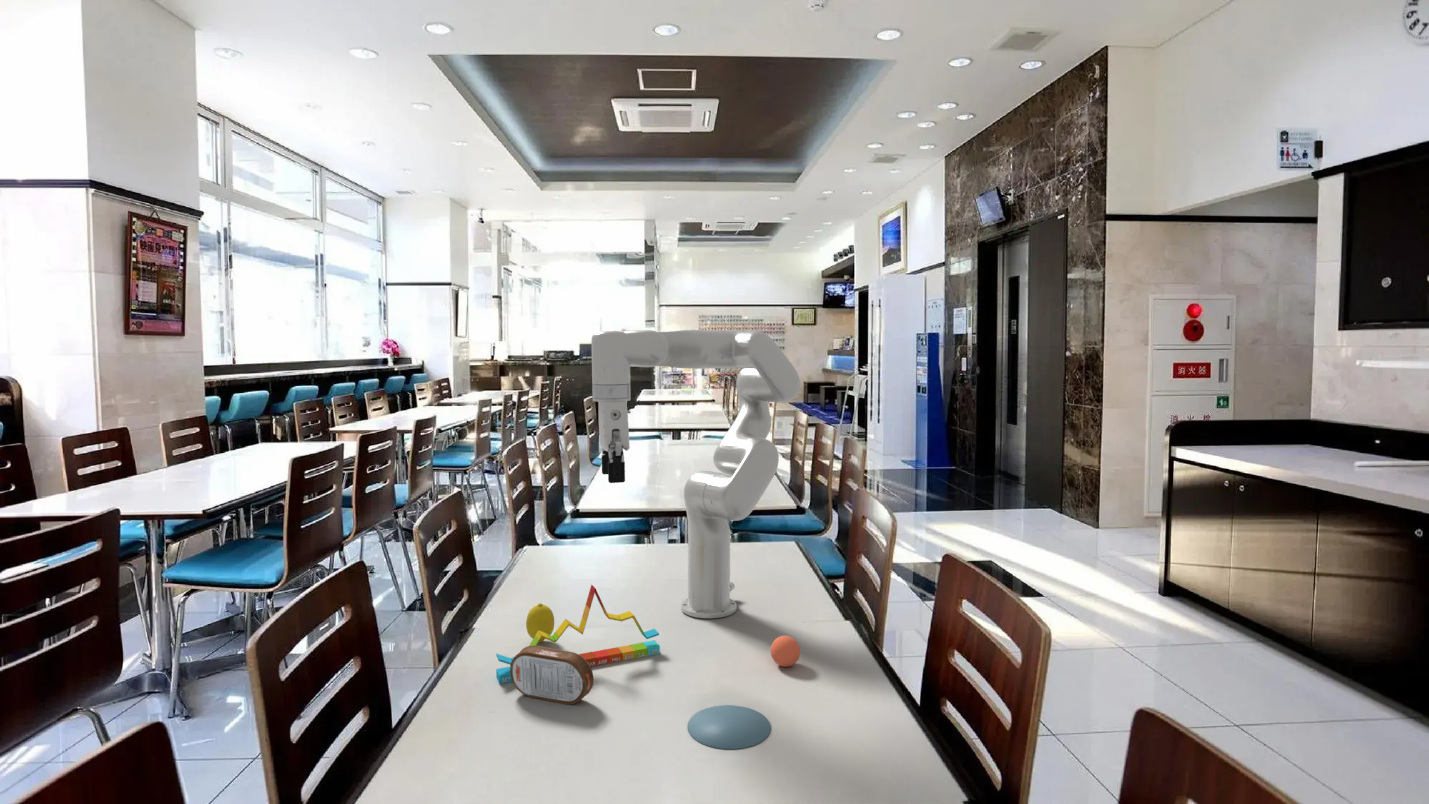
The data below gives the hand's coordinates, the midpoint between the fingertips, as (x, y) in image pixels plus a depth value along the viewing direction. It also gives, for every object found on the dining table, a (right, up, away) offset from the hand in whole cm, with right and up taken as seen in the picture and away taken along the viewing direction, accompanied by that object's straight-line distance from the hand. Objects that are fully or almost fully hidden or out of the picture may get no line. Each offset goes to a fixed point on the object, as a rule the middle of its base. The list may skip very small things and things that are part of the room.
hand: (613, 477), depth 147 cm
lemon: (-15, -33, 0) cm, 36 cm away
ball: (+34, -31, -10) cm, 47 cm away
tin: (-7, -35, -23) cm, 43 cm away
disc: (+23, -36, -32) cm, 53 cm away
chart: (-5, -35, -10) cm, 36 cm away
